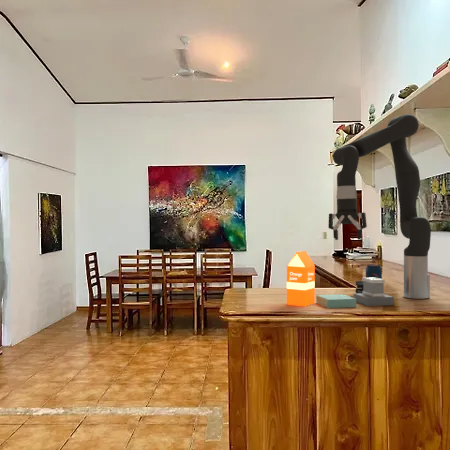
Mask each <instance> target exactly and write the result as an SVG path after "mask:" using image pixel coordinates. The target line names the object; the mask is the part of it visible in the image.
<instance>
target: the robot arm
mask: <svg viewBox="0 0 450 450" xmlns="http://www.w3.org/2000/svg"><path fill="white" fill-rule="evenodd" d="M418 129H419V121H418V118H417V117H416V116H415V115H414V114H411V113H410V114H409V113H406V114H401V115H398V116H396V117H395V116H394V117H393V118H391V119H390V120H389V121H388V123H387V126H386V127H384V128H382V129H379V130H377V131H376V130H375V131H374V132H371V133H368V134H366V135H364V136H362V137H361V138H358V139H356V140H355V141H352V142H350V143H346V144H345V145H342V146H340V147H338V148H336V149H335V150H334V152H333V154H332V161H333V162H334V163H335V164H336V165H337V166H342V167H341V170H340V171H338V173H337V174H336V213H329V214H328V224H327V225H328V226H327V227H328V229H329V230H332V231H333V238H334V240H336V241H338V240H339V230H338V229H339V227H340V226H341V225H346V224H347V225H351V224H353V226H355V228H356V232H357V240H359V241H360V240H361V238H362V237H363V230H364V229H366V228H367V227H368V226H367V225H368V223H367V218H366V217H367V214H366V212H358V201H357V200H358V197H357V195H358V194H357V193H358V192H357V185H356V182H357V181H356V180H357V179H356V174H357V170H358V165H359V161H360V158H362V157H365V156H367V155H369V154H372V153H373V152H375V151H377V150H379V149H382V148H383V147H385V146H387V145H390V147H391V152H392V153H391V154H392V158H393V165H394V171H395V173H394V174H395V175H394V176H395V182H396V189H397V197H398V204H399V224H400V225H399V227H400V232H401V234H402V236H403V237H404V238H406V239H409V240H408V241H409V243H408V245H407V246H406V247H405V248H404V250H403V297H404V298H408V299H418V300H421V299H422V300H423V299H429V298H430V297H431V296H430V295H431V291H430V290H431V282H430V281H431V276H430V274H428V273H429V272H428V271H429V270H428V269H429V268H428V264H429V261H428V260H429V257H428V256H429V250H430V248H431V236H432V231H431V230H432V227H431V224H430V222H429V220H428V219H427V218H425V217H422V216H418V211H417V200H418V196H419V192H420V189H421V178H420V177H421V176H420V170H419V169H420V168H419V167H418V165H417V163H416V161H415V160H414V158H413V157H412V156H411V154H410V153H409V151H408V148H407V147H408V146H407V140H406V138H409V137H412V136H414V135H415V134H416V133H417V132H418ZM358 217H359V218H360V219H361V224H360V223H359V221H358V220H357V218H358ZM335 218H337V222H336V223H335V225H334V219H335Z"/></svg>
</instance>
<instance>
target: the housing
mask: <svg viewBox="0 0 450 450" xmlns="http://www.w3.org/2000/svg"><path fill="white" fill-rule="evenodd" d="M361 281H363V291H362V294H364V295H368V296H371V297H385V295H386V293H385V291H384V287H385V283H386V280H385V279H383V278H382V279H379V278H375V277H366V276H365V277H362V280H361Z"/></svg>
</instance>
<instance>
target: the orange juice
mask: <svg viewBox="0 0 450 450" xmlns="http://www.w3.org/2000/svg"><path fill="white" fill-rule="evenodd" d="M315 266H316V265H315V264H314V262H313V260H312V259H311V257H310V256H309V255H308V253H307V251H306V250H302V251H296V252H295V253H294V255H293V257H292V258H291V260H290V261H289V262H288V264H287V265H286V305H289V306H297V307H307V305H308V306H310V304H311V305H313V304H315V303H316V302H315V299H316V296H315V293H316V292H315V291H316V290H315V287H316V285H315V284H316V283H315V278H316V277H315V276H316V274H315V270H316V268H315Z"/></svg>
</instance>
